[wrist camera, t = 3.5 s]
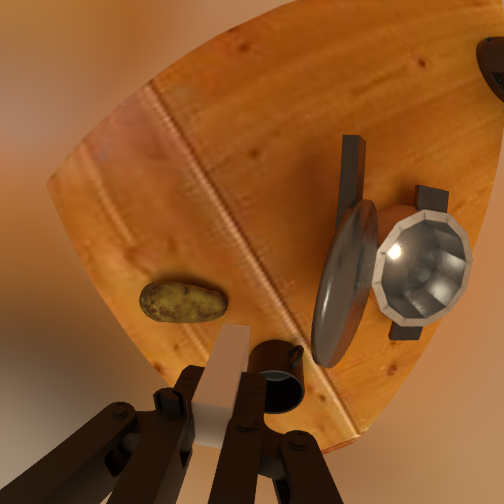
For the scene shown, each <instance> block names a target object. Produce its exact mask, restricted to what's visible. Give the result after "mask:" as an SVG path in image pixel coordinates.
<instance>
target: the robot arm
mask: <svg viewBox="0 0 504 504" xmlns="http://www.w3.org/2000/svg"><path fill="white" fill-rule="evenodd" d="M477 60H478V63H479V67H480V69H481V72H482V74H483V76H484V78H485V80H486V81H487V83H488V85H489V86H490V88H491V89H492V90H493V92H494V93H495V94H496V95H497V96H498V97H499V98H500V99H501V100H502V101H503V102H504V36H502V37H488V38H485V39H484V40H482V41H481V42H480V43H479V44H478V46H477ZM249 337H250V326H244V325H235V324H226V323H223V325H222V328H221V330H220V333H219V335H218V338H217V340H216V342H215V345H214V347H213V350H212V352H211V355H210V357H209V359H208V362H207V364H206V367H200V366H194V365H189V366H188V367H186V368H185V369H184V370H182V372H181V374H180V376H179V378H178V380H177V382H176V384H175V386H174V388H162V389H160V390H158V391H156V392H155V393H154V395H153V397H154V402H155V407H156V410H154V411H135V409H134V407H133V406H132V405H130V404H129V403H126V402H114V403H111V404H110V405H108V406H107V407H105V408H104V409H103V410H102V411H101V412H99V413H98V414H97V415H96V416H94V417H93V418H92V419H91V420H90V421H88V422H87V423H86V424H84V425H83V426H82V427H81V428H80V429H78V430H77V431H76V432H75V433H73V434H72V435H71V436H70V437H68V438H67V439H66V440H65V441H63V442H62V443H61V444H59V445H58V446H57V447H56V448H54V449H53V450H52V451H51V452H49V453H48V454H47V455H46V456H44V457H43V458H42V459H40V460H39V461H38V462H37V463H35V464H34V465H33V466H31V467H30V468H29V469H27V470H26V471H25V472H23V473H22V474H21V475H20V476H18V477H17V478H15V479H14V480H13V481H12V482H10V483H9V484H8V485H6V486H5V487H3V488H2V489H1V490H0V504H100V503H101V502H102V501H103V499H105V498H106V497H107V496H108V495H109V493H110V492H112V493H111V495H110V497H109V499H108V501H107V503H106V504H176V501H177V498H178V495H179V492H180V489H181V486H182V483H183V480H184V477H185V474H186V471H187V468H188V465H189V462H190V459H191V456H192V444H193V441H194V438H195V444H198V445H203V446H208V447H215V448H221V453H220V456H219V461H218V465H217V469H216V473H215V477H214V481H213V485H212V488H211V492H210V497H209V501H208V504H254V501H255V493H256V485H257V477H258V474H260V475H263V476H266V477H269V478H272V481H273V485H274V489H275V493H276V496H277V500H278V504H344V503H343V501H342V499H341V497H340V494H339V492H338V490H337V488H336V485H335V483H334V481H333V478H332V476H331V474H330V472H329V469H328V467H327V465H326V462H325V460H324V458H323V455H322V453H321V451H320V448H319V446H318V444H317V441H316V440H315V438H314V437H313V435H311V434H309V433H308V432H305V431H301V430H293V431H290V432H287V433H286V434H281V433H278V432H275V431H273V430H271V429H270V428H268V426H267V425H266V424H265V422H264V408H265V397H266V386H267V380H266V378H265V376H264V375H263V374H259V373H250V372H246V370H247V364H248V351H249Z"/></svg>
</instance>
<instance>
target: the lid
mask: <svg viewBox="0 0 504 504" xmlns="http://www.w3.org/2000/svg"><path fill="white" fill-rule="evenodd" d="M365 155H366V141H365V140H364V139H363V138H362V137H361V136H359V135H343V139H342V158H341V174H340V187H339V199H338V209H337V219H336V228H335V234H334V237H333V239H332V242H331V245H330V248H329V251H328V254H327V258H326V261H325V265H324V268H323V272H322V276H321V280H320V284H319V288H318V293H317V297H316V303H315V308H314V314H313V322H312V331H311V353H312V357H313V360H314V362H315V363H316V364H317V365H319V366H322V367H325V368H329V369H330V368H332V367H334V366H335V365H336V364H337V363H338V362H339V361H340V360H341V358H342V357H343V355H344V354H345V352H346V351H347V349H348V347H349V345H350V344H351V342H352V340H353V337H354V335H355V333H356V331H357V328H358V326H359V323H360V321H361V318H362V315H363V312H364V309H365V306H366V303H367V300H368V296H369V292H370V288H371V284H372V280H373V275H374V269H375V263H376V256H377V246H378V218H377V211H376V208H375V205H374V203H373V202H372V201H371V200H367V199H362V197H363V185H364V171H365Z"/></svg>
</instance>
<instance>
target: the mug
mask: <svg viewBox="0 0 504 504" xmlns="http://www.w3.org/2000/svg"><path fill="white" fill-rule="evenodd" d="M303 352H304V348H303V346H301V345H297V346H295V347H294V346H293V345H291V344H289V343H287V342H284V341H278V340H273V341H267V342H264V343H262V344H260V345H258V346H257V347H256V348H255V349H254V350H253V351H252V352H251V354H250V357H249V361H248V366H247V371H246V372H250V373H259V374H263V375H264V376H265V378H266V380H267V386H266V397H265V408H264V413H267V414H281V413H286V412H288V411H291V410H293V409H294V408H296V407H297V406H298V405H299V404H300V403H301V402H302V400H303V398H304V394H305V388H304V375H303V363H302V355H303Z"/></svg>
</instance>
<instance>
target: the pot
mask: <svg viewBox="0 0 504 504" xmlns="http://www.w3.org/2000/svg"><path fill="white" fill-rule="evenodd" d="M448 197H449V191H445V190H440V189H436V188H431V187H426V186H421V185H416V186H415V197H414V206H409V205H402V204H395V205H393V206H391V207H389V208H387V209H385V210H383V211H381V212H378V213H377V218H378V246H377V256H376V263H375V269H374V275H373V280H372V284H371V288H370V292H369V296H370V297H371V298H372V300H373V301H374V302H375V304H376V305H377V307H378V308H379V309H380V311H381V312H382V313H384V314H385V315H386V316H388V317H389V318H390V319H392V320H393V321H392V324H391V328H390V332H389V335H388V337H389V339H390V340H419V338H420V334H421V331H422V328H423V326H427V325H429V324H431V323H433V322H434V321H436V320H438V319H440V318H441V317H443V316H445V315H446V314H448V313H449V312H450V311H451V310H452V308H453V307H454V306H455V304H456V303H457V302H458V300H459V298H460V297H461V296H462V295H463V293H464V292H465V290H466V288H467V283H468V280H469V275H470V271H471V266H472V254H471V249H470V244H469V240H468V235H467V233H466V232H465V230H464V229H463V228H462V227H461V226H460V225H459V224H458V223H457V221H456V220H455V219H454V218H453V217H452V216H451V215H450V214H448V213H447V207H448Z"/></svg>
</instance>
